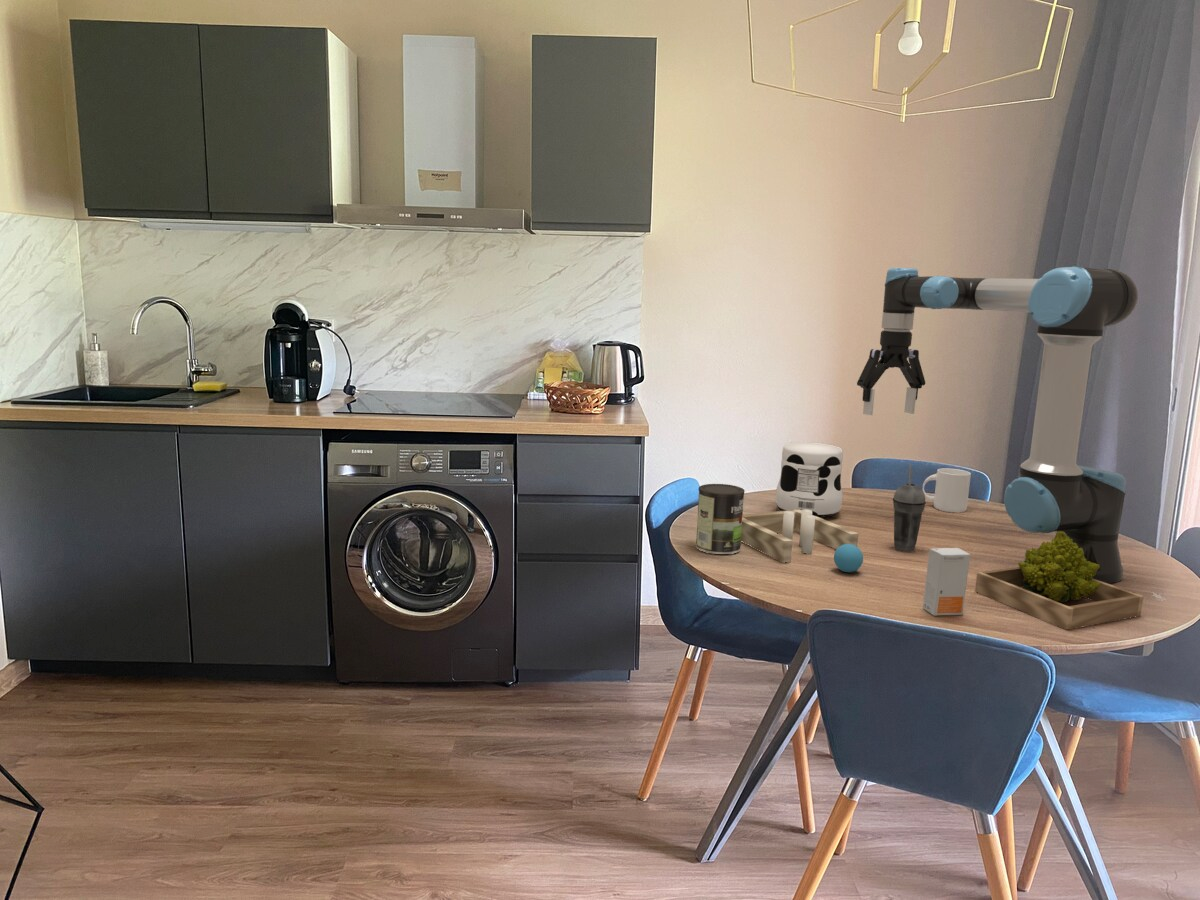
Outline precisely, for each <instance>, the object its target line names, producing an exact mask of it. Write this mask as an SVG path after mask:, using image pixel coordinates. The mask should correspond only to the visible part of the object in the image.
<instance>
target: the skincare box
mask: <svg viewBox="0 0 1200 900" xmlns="http://www.w3.org/2000/svg"><path fill="white" fill-rule="evenodd" d="M970 560H971V554H970V553H968V552H967V551H965V550H963V549H961V548H960V547H942V548H941V547H940V548H929V552H928V561H927V562H928V563H927V569H926V577H925V578H926V579H925V585H924V586H925V587H924V594H923V595H924V596H923V603H922V609H924V610H925V611H927V612H928V613H930V614H931V615H932V616H935V617H936V616H963V614H964V606H965V598H966V592H967V591H966V590H967V584H968V575H969V568H970V562H971V561H970Z"/></svg>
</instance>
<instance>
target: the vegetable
mask: <svg viewBox="0 0 1200 900" xmlns="http://www.w3.org/2000/svg"><path fill="white" fill-rule="evenodd" d="M1056 533H1057V534H1056ZM1056 533H1055V536H1056V537H1055V536H1054V537H1053V538H1052V539H1051V541H1046V542H1045V541H1042V542H1041V544H1040V546H1039V547H1037V549H1036V548H1034V547H1031V549H1026V550H1025V555H1024V556H1025V558H1024V562H1017V565H1018V567H1020V569H1021V571H1022V572H1023V576H1024V577H1025V578H1024V580H1023V582H1024V583H1025V584H1023V586H1022V587H1021V588H1023V589H1025V590H1028V591H1031V592H1033V593H1036V594H1038V595H1041V596H1043V597H1046V598H1048V599H1051V600H1054V601H1056V602H1062V603H1064V602H1067V601H1068V600H1078V601H1079V600H1080V599H1082V598H1085V597H1088V594H1092V592H1094V591H1095V590H1096V589H1097V588H1098V587H1099V586H1100V585H1101V583H1098V582H1096V581H1093V580H1092V579H1093V578H1092V577H1093V576H1095V575H1096V574H1095V573H1096V571H1097V570H1098V569H1099V567H1100V565H1098V564H1096V563H1091V562H1090V561H1088V562H1087V560H1086V559H1085V557H1084V552H1083V548H1082V547H1081V548H1078V546H1077V544H1076V543H1073V539H1070V537H1068V536H1067V534H1066V533H1065V532H1063V531H1058V532H1057V531H1056Z"/></svg>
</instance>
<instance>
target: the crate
mask: <svg viewBox="0 0 1200 900" xmlns="http://www.w3.org/2000/svg"><path fill="white" fill-rule="evenodd" d="M1024 578H1025V577H1024V576H1023V572H1022V571H1021V569H1020V567H1019V566H1015V567H1013V566H1012V567H1007V568H999V569H994V570H993V569H991V570H987V571H979V572H978V571H977V572H976V581H975V586H974V592H975V591H976V592H975V593H977V592H978V593H977V594H980V595H983V596H984V597H987V598H989V599H992V600H995V601H996V602H999V603H1001V602H1002V603H1001V604H1004V605H1007V606H1009V607H1010V608H1013V609H1016V610H1018V611H1020V612H1023V613H1024V614H1028V615H1030V616H1032V617H1035V618H1037V619H1040V620H1042V621H1043V622H1047V623H1048V624H1051V623H1052V625H1053V624H1054V626H1056V625H1057V626H1056V627H1058V626H1059V627H1058V628H1061V627H1062V628H1061V629H1063V628H1064V630H1065V629H1070V630H1073V629H1072V628H1075V629H1077V628H1076V627H1080V628H1083V627H1082V626H1086V627H1090V626H1089V625H1091V626H1095V625H1094V624H1097V625H1101V624H1100V623H1102V624H1106V623H1105V622H1107V623H1111V622H1110V621H1113V622H1116V621H1115V620H1118V621H1120V620H1119V619H1123V620H1125V619H1124V618H1129V619H1131V618H1130V617H1134V618H1136V617H1135V616H1140V617H1141V615H1142V611H1143V610H1142V609H1143V604H1144V595H1141V594H1138V593H1135V592H1133V591H1130V590H1127V589H1123V588H1121V587H1118V586H1115V585H1113V584H1111V583H1104V582H1102V581H1099V580H1096V579H1092V580H1093V581H1096V582H1098V583H1101V585H1100V586H1099V587H1098V588H1097V589H1096V590H1095V591H1094V592H1092V594H1088V597H1086V598H1085V599H1088V598H1089V599H1088V600H1090V599H1091V600H1090V601H1092V602H1088V603H1087V602H1086V603H1081V604H1075V605H1070V606H1069V605H1066V604H1063V603H1061V602H1060V601H1057V602H1056V601H1054V600H1052V599H1048V598H1046V597H1043V596H1041V595H1038V594H1036V593H1033V592H1031V591H1028V590H1025V589H1023V588H1022V587H1023V584H1025V583H1024V582H1023V580H1024ZM1093 600H1094V601H1093Z"/></svg>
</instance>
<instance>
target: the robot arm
mask: <svg viewBox="0 0 1200 900" xmlns="http://www.w3.org/2000/svg"><path fill="white" fill-rule="evenodd" d="M885 277H886V278H885V282H884V293H883V294H884V295H883V308H882V316H881V319H882V320H881V329H883V330H881V331H880V337H879V338H880V339H879V345H880V346H881V349H875V348H872V349H870V350H869V351H870V352H869V356H868V358H867V359H868V360H867V361H866V363H865V365H864V367H863V370H862V371H861V374H860V375H859V377H858V380H857V381H856V385H857V386H859V387H860V388H861V389H862V402H863V409H862V414H863V415H867V416H873V415H874V414H873V413H874V403H875V390H876V389H873V388H874V387H875V385H876V384H877V382H878V381H879V379H880V378H881V377H882V376H883V374H884V373H885V372H886V371H887V370H888V369H890V368H891V369H894V368H898V369H900V372H901V373H902V375H903V377H904V378H905V380H906V382H907V383H908V385H909V387H908V386H906V394H905V403H904V413H908V414H913V415H914V414H915V407H916V401H917V399H918V393H919V389H922V387H923V386H925V385H926V379H925V375H924V373H923V369H922V365H921V362H920V357H919V356H920V355H919V354H920V353H919V352H920V351H919V350H918V349H913V348H909V347H911V346H912V341H913V340H912V339H913V333H912V331H911V330H913V328H914V320H915V319H914V317H915V310H916V309H915V308H919V309H921V308H923V309H931V310H942V309H943V310H944V309H947V310H948V309H949V310H950V309H954V310H957V309H958V310H959V309H960V310H974V311H975V310H976V311H983V310H984V311H997V312H998V311H999V312H1001V311H1002V312H1016V313H1017V312H1019V313H1020V312H1021V313H1029V314H1030V315H1031V316H1032V320H1033V321H1034V322H1035V323H1037V325H1038V326H1037V331H1036V335H1037V336H1038V337H1039V338H1040V339H1041V340H1042V342H1043V344H1044V345H1043V350H1042V358H1041V359H1042V361H1041V367H1040V374H1039V382H1038V391H1037V398H1036V403H1035V404H1036V406H1035V413H1034V419H1033V420H1034V421H1033V427H1032V428H1033V430H1032V437H1031V446H1030V452H1029V457H1028V458H1027V459H1026V460H1024V461H1023V462H1022V463H1021V464H1020V465H1019V475H1018V478H1015V479H1014V480H1012V481H1011V483H1008V485H1007V486H1006V488H1005V491H1004V497H1003V502H1004V507H1005V510H1006V513H1007V515H1008V517H1010V518H1011V521H1012V523H1013V524H1014V525H1016V527H1018V528H1019V529H1021V530H1022V531H1025V532H1028V533H1032V534H1038V533H1039V534H1050V533H1053V532H1056V533H1055V536H1054V537H1056V534H1057V532H1058V531H1063V532H1065V533H1066V534H1067V536H1068V537H1070V539H1073V543H1076V544H1077V546H1078V548H1081V547H1082V548H1083V552H1084V557H1085V559H1086V560H1087V562H1088V561H1090V562H1091V563H1096V564H1098V565H1100V567H1099V569H1098V570H1097V571H1096V573H1095V574H1096V575H1095V576H1093V577H1092V578H1093V579H1096V580H1099V581H1102V582H1104V583H1107V584H1111V583H1113V584H1114V583H1117V582H1120V581H1121V580H1122V579H1123V571H1124V568H1123V565H1122V559H1121V554H1120V550H1119V543H1118V540H1119V533H1120V529H1121V528H1120V527H1121V521H1122V514H1123V507H1124V501H1125V497H1126V494H1127V492H1126V485H1127V480H1126V477H1125V476H1124V475H1122V474H1121V473H1119V472H1118V473H1117V472H1115V471H1114V472H1113V471H1110V470H1105V469H1101V468H1100V469H1099V468H1095V467H1089V466H1085V465H1078V463H1077V459H1078V450H1079V443H1080V436H1081V435H1080V434H1081V429H1082V422H1083V415H1084V414H1083V413H1084V407H1085V406H1084V405H1085V401H1086V392H1087V386H1088V378H1089V370H1090V363H1091V357H1092V349H1093V346H1094V345H1095V343H1098V341H1100V340H1102V338H1103V333H1104V327H1110V326H1114V325H1117V324H1119V323H1122V322H1123V321H1125V320H1126V319H1127V318H1128V317H1129V316H1130V315H1131V314H1132V313H1133V312H1134V310H1135V308H1136V306H1137V304H1138V299H1139V294H1138V293H1139V292H1138V288H1137V285H1136V284H1135V281H1134V280H1133V279H1132V278H1131V277H1130V276H1129V275H1127V274H1126V273H1125V272H1123V271H1119V270H1116V269H1112V268H1094V267H1083V266H1066V267H1063V266H1062V267H1056V268H1053V269H1050V270H1049V271H1047V272H1046V273H1044V274H1043V275H1042V276H1041V277H1040V278H1000V277H999V278H998V277H997V278H994V277H993V278H991V277H987V278H985V277H984V278H983V277H951V276H945V275H943V276H942V275H941V276H940V275H935V276H934V275H933V276H931V275H930V276H929V275H927V276H925V275H924V276H920V275H919V270H918V269H917V268H913V267H910V268H909V267H891V268H889V269H888V270H887V273H886V275H885Z"/></svg>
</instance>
